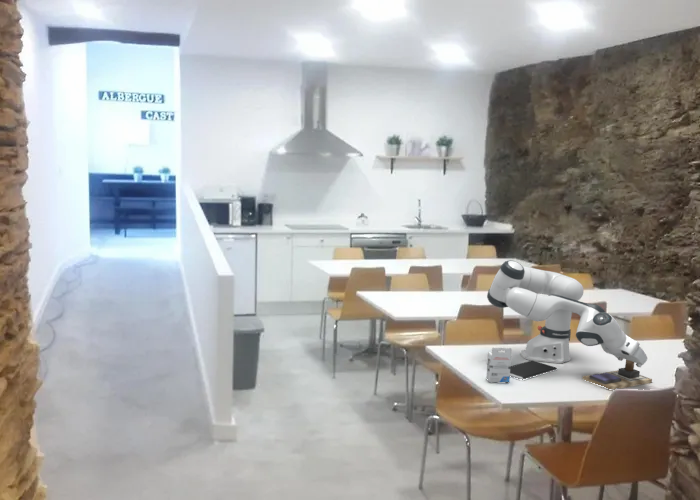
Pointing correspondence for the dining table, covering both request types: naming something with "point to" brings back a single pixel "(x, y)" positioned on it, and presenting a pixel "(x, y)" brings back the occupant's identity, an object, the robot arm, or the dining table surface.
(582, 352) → the dining table surface
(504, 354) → the ink box
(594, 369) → the dining table surface
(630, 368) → the stamp
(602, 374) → the stamp board
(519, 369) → the black flat rectangular slab
